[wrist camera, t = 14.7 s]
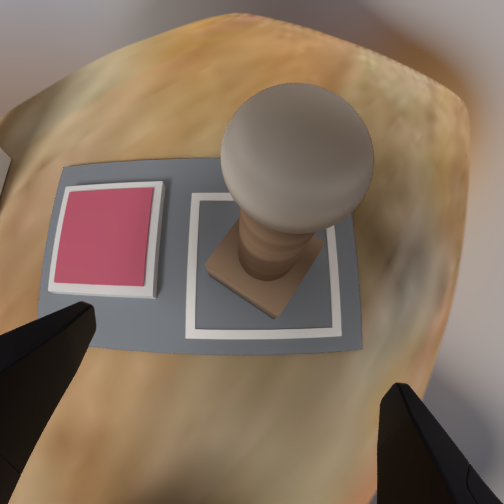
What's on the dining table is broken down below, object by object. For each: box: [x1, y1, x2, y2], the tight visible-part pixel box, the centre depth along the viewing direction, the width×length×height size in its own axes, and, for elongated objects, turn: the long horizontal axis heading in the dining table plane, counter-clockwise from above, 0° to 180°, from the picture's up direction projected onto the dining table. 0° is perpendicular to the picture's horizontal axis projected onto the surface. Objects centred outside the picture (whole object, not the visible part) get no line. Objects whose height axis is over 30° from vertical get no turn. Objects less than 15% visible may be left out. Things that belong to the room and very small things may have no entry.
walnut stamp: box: [205, 83, 374, 319], centre depth 14 cm, size 5×5×15 cm
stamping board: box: [37, 158, 363, 355], centre depth 21 cm, size 14×23×2 cm, turn 90°
